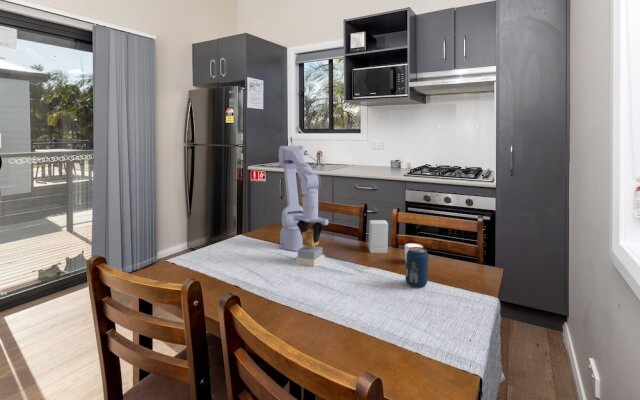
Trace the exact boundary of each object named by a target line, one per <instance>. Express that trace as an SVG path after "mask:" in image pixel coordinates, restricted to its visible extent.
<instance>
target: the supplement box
mask: <svg viewBox="0 0 640 400" xmlns="http://www.w3.org/2000/svg"><path fill="white" fill-rule="evenodd" d="M388 239H389V223H388V221H387V220H384V219H371V220H369V221H368V246H367V247H368V251H369V253H370V254H388V247H389V246H388V244H389V240H388Z"/></svg>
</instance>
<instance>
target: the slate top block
mask: <svg viewBox="0 0 640 400" xmlns="http://www.w3.org/2000/svg"><path fill="white" fill-rule="evenodd" d="M322 254H323V247H321V246H317V245H316V246H314V247H310V246H304V247H302V248H300V249H298V251H297V256H298V258H305V259H311V260H315V259H317V258H318V257H320V256H321V255H322Z"/></svg>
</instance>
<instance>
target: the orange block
mask: <svg viewBox="0 0 640 400" xmlns="http://www.w3.org/2000/svg"><path fill="white" fill-rule="evenodd" d="M319 244H320V239H319V240H318V242H316V243H315V242H314V233H313V229H311V230H310V229H308V231H305V232H303V245H304V246H310V247H314V246H316V247H317V245H319Z"/></svg>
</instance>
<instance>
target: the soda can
mask: <svg viewBox="0 0 640 400" xmlns="http://www.w3.org/2000/svg"><path fill="white" fill-rule="evenodd" d="M428 271H429V253H428V250H427V248H424V247H423V248H421V247H411V248H409V251H408V252H407V258H406V263H405V282H406V284H407V285H408V286H409V287H410V288H414V289H415V288H416V289H420V288H422V289H423V288H425V286H426V285H427V284H428V273H429V272H428Z"/></svg>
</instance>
